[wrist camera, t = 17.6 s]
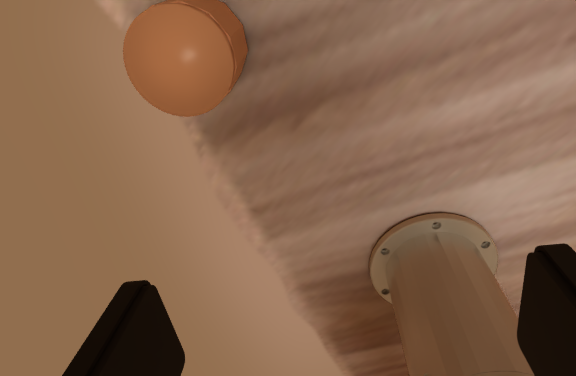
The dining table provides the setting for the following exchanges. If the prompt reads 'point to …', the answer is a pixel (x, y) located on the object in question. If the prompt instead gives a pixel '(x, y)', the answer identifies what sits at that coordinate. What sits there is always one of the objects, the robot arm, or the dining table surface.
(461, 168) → the dining table surface
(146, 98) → the orange short cylinder
